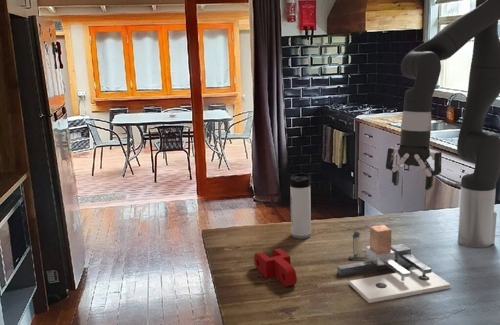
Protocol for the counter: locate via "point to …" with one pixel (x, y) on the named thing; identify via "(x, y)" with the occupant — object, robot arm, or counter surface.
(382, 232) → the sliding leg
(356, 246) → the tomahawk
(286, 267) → the mechanical linkage
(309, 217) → the travel mug
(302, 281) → the counter surface
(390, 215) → the counter surface
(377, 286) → the bolt plate
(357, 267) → the gray bar frame
